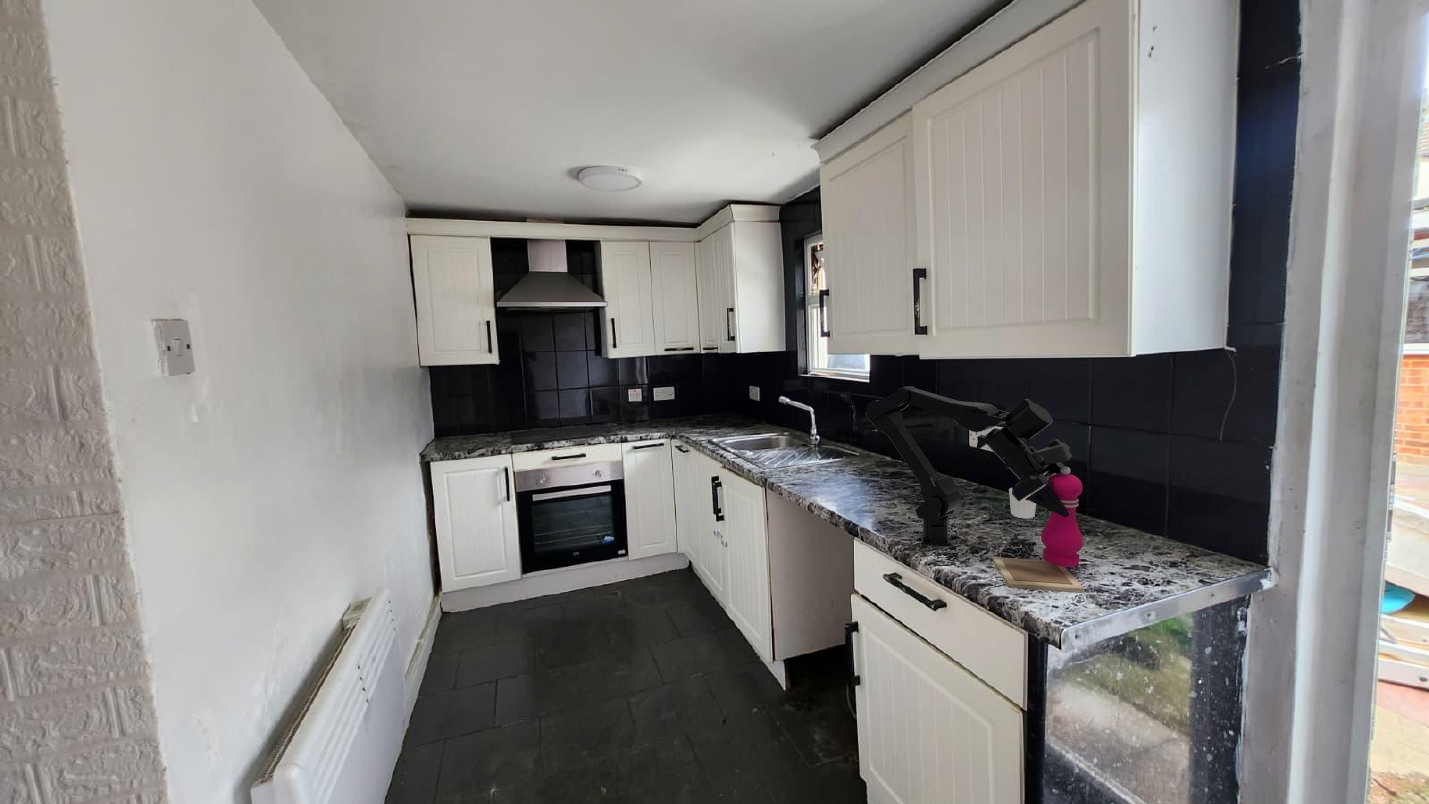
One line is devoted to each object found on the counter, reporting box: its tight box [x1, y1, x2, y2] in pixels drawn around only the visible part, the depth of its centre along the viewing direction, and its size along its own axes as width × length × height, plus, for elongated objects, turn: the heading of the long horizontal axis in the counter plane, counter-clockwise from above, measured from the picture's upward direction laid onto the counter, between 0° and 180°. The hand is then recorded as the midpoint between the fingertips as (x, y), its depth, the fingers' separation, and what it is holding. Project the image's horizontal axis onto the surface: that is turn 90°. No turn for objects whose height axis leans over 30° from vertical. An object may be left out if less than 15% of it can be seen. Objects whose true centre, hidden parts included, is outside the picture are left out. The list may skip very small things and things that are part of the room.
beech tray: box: [992, 556, 1085, 594], centre depth 109 cm, size 13×13×1 cm
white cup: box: [1008, 487, 1037, 520], centre depth 144 cm, size 7×7×7 cm
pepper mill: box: [1040, 465, 1084, 568], centre depth 108 cm, size 7×7×20 cm
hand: (1071, 512), depth 107 cm, fingers closed on pepper mill, 5 cm apart
